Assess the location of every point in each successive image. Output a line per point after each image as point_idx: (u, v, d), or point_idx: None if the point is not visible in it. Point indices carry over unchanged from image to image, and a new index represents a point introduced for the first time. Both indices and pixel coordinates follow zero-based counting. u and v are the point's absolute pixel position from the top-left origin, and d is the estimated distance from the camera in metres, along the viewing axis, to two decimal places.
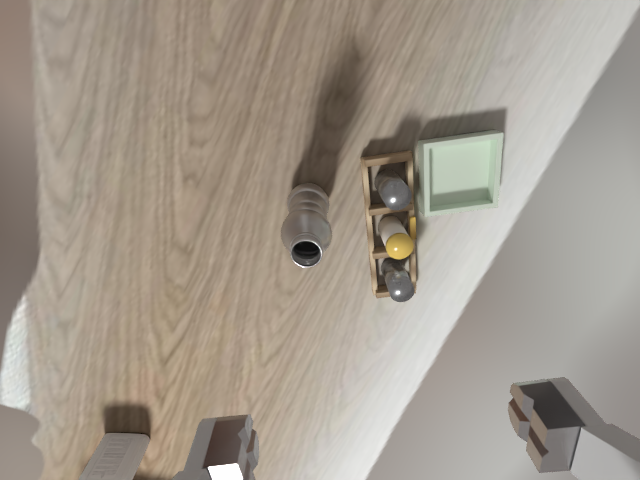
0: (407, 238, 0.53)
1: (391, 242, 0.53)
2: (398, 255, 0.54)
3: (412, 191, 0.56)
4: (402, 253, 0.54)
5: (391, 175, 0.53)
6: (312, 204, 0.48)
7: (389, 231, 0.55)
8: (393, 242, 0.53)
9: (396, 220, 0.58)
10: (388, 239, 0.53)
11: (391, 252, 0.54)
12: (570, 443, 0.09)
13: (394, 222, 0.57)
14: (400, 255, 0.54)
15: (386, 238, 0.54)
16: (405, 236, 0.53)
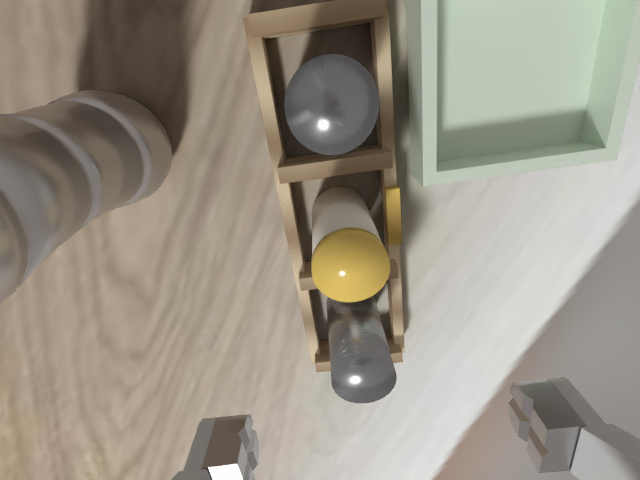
0: (372, 243, 0.18)
1: (324, 255, 0.18)
2: (348, 292, 0.19)
3: (390, 118, 0.21)
4: (360, 285, 0.19)
5: None
6: None
7: (325, 225, 0.20)
8: (331, 257, 0.18)
9: (352, 196, 0.23)
10: (317, 247, 0.18)
11: (327, 284, 0.19)
12: (570, 443, 0.09)
13: (343, 202, 0.22)
14: (353, 292, 0.19)
15: (315, 243, 0.19)
16: (365, 238, 0.18)
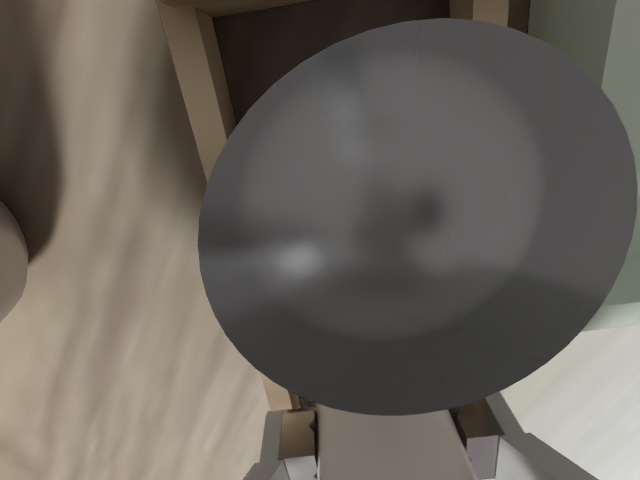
0: None
1: None
2: None
3: None
4: None
5: None
6: None
7: (350, 463, 0.08)
8: None
9: None
10: None
11: None
12: (491, 452, 0.09)
13: None
14: None
15: None
16: None
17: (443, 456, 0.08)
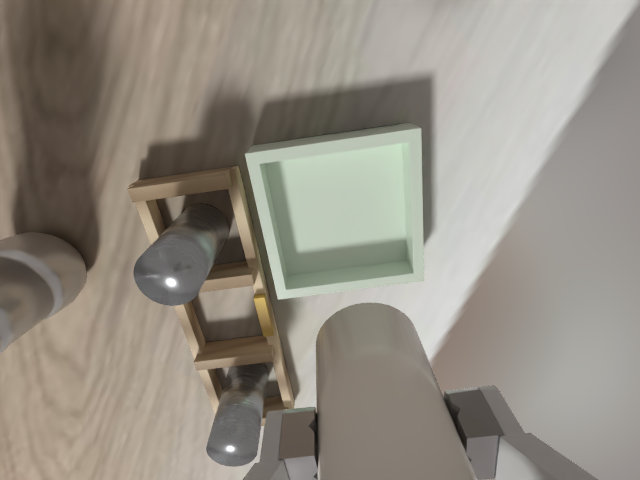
0: None
1: None
2: None
3: (251, 248, 0.28)
4: None
5: (183, 221, 0.24)
6: None
7: (350, 465, 0.08)
8: None
9: (397, 338, 0.11)
10: None
11: None
12: (491, 452, 0.09)
13: (384, 366, 0.10)
14: None
15: None
16: None
17: (443, 457, 0.08)
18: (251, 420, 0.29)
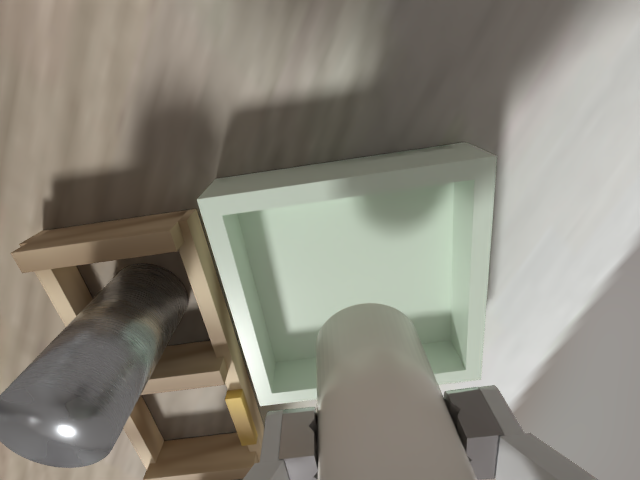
0: None
1: None
2: None
3: (219, 330, 0.18)
4: None
5: (100, 306, 0.15)
6: None
7: (350, 466, 0.08)
8: None
9: (397, 338, 0.11)
10: None
11: None
12: (491, 452, 0.09)
13: (384, 367, 0.10)
14: None
15: None
16: None
17: (443, 458, 0.08)
18: None
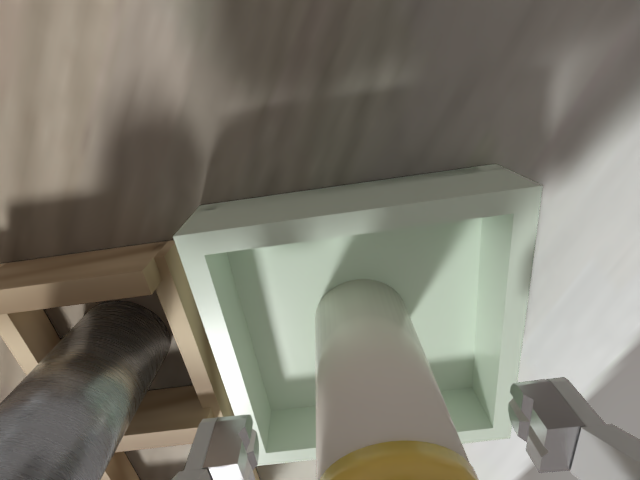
0: None
1: None
2: None
3: (205, 379, 0.16)
4: None
5: (58, 362, 0.12)
6: None
7: (343, 403, 0.10)
8: None
9: (386, 307, 0.13)
10: None
11: None
12: (570, 443, 0.09)
13: (373, 328, 0.12)
14: None
15: (323, 449, 0.09)
16: None
17: (421, 396, 0.09)
18: None
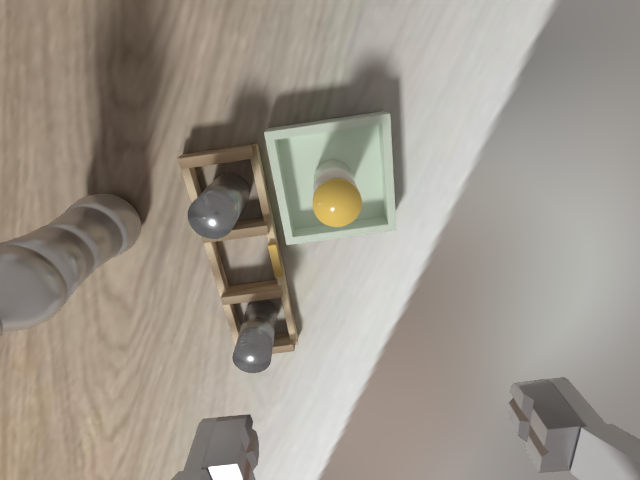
0: (350, 186, 0.29)
1: (320, 194, 0.29)
2: (335, 219, 0.30)
3: (266, 206, 0.37)
4: (343, 215, 0.30)
5: (218, 182, 0.34)
6: (51, 232, 0.28)
7: (321, 178, 0.31)
8: (325, 195, 0.29)
9: (340, 164, 0.34)
10: (316, 190, 0.29)
11: (322, 214, 0.30)
12: (570, 443, 0.09)
13: (334, 167, 0.33)
14: (339, 220, 0.30)
15: (315, 189, 0.30)
16: (345, 183, 0.29)
17: (345, 175, 0.31)
18: (266, 338, 0.38)
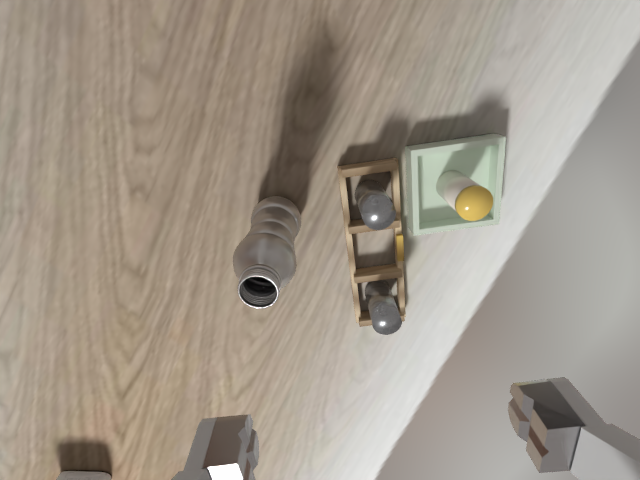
0: (486, 191, 0.40)
1: (464, 197, 0.40)
2: (472, 215, 0.41)
3: (399, 205, 0.48)
4: (478, 212, 0.41)
5: (373, 187, 0.45)
6: (274, 224, 0.39)
7: (459, 185, 0.42)
8: (467, 198, 0.40)
9: (463, 174, 0.45)
10: (460, 193, 0.40)
11: (463, 211, 0.41)
12: (570, 443, 0.09)
13: (462, 176, 0.44)
14: (474, 215, 0.41)
15: (456, 193, 0.41)
16: (483, 189, 0.40)
17: (477, 183, 0.42)
18: (396, 307, 0.49)
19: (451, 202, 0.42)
